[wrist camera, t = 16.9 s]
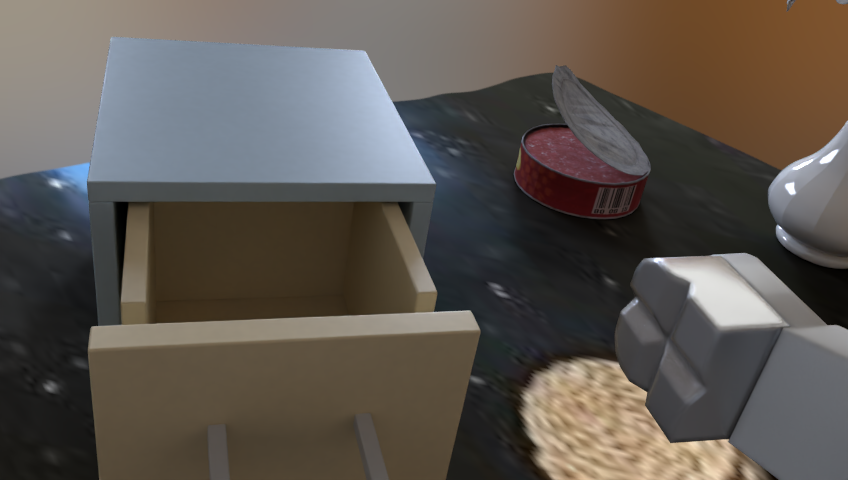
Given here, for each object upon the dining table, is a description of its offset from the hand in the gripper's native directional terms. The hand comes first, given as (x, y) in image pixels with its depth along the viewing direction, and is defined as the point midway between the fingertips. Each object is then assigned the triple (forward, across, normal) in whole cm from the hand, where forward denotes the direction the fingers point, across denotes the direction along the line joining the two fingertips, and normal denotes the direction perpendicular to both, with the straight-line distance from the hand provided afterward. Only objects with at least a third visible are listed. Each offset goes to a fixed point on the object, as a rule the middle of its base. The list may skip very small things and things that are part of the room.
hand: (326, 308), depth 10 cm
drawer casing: (+29, -2, +22) cm, 36 cm away
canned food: (+42, -28, +22) cm, 55 cm away
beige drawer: (+18, -2, +21) cm, 27 cm away
